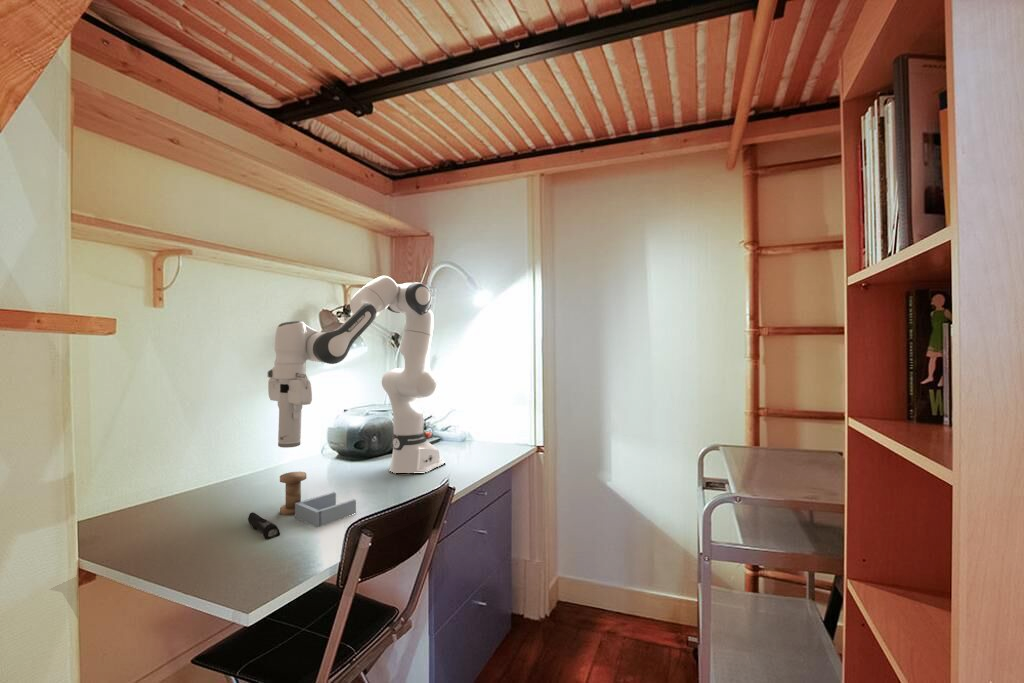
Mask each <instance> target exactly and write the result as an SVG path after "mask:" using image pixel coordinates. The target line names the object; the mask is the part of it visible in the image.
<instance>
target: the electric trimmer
mask: <svg viewBox="0 0 1024 683" xmlns="http://www.w3.org/2000/svg"><path fill="white" fill-rule="evenodd" d="M247 521H248V523H249V524H250V526H251V528H252V529H253V530H256V531H257V530H258V531H259V532H261V534H262V535H263V536H262V537H263V538H264V539H265V540H271V539H274V538H278V537H280V535H281V532H280V529H279V528H278V526H277V525H276V524H275V523H272V522H271V521H269V520H267V519H266V518H264V517H262V516H260V515H258V514H257V513H256V512H254V511H252V512H250V513H249V515H248V518H247Z"/></svg>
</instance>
